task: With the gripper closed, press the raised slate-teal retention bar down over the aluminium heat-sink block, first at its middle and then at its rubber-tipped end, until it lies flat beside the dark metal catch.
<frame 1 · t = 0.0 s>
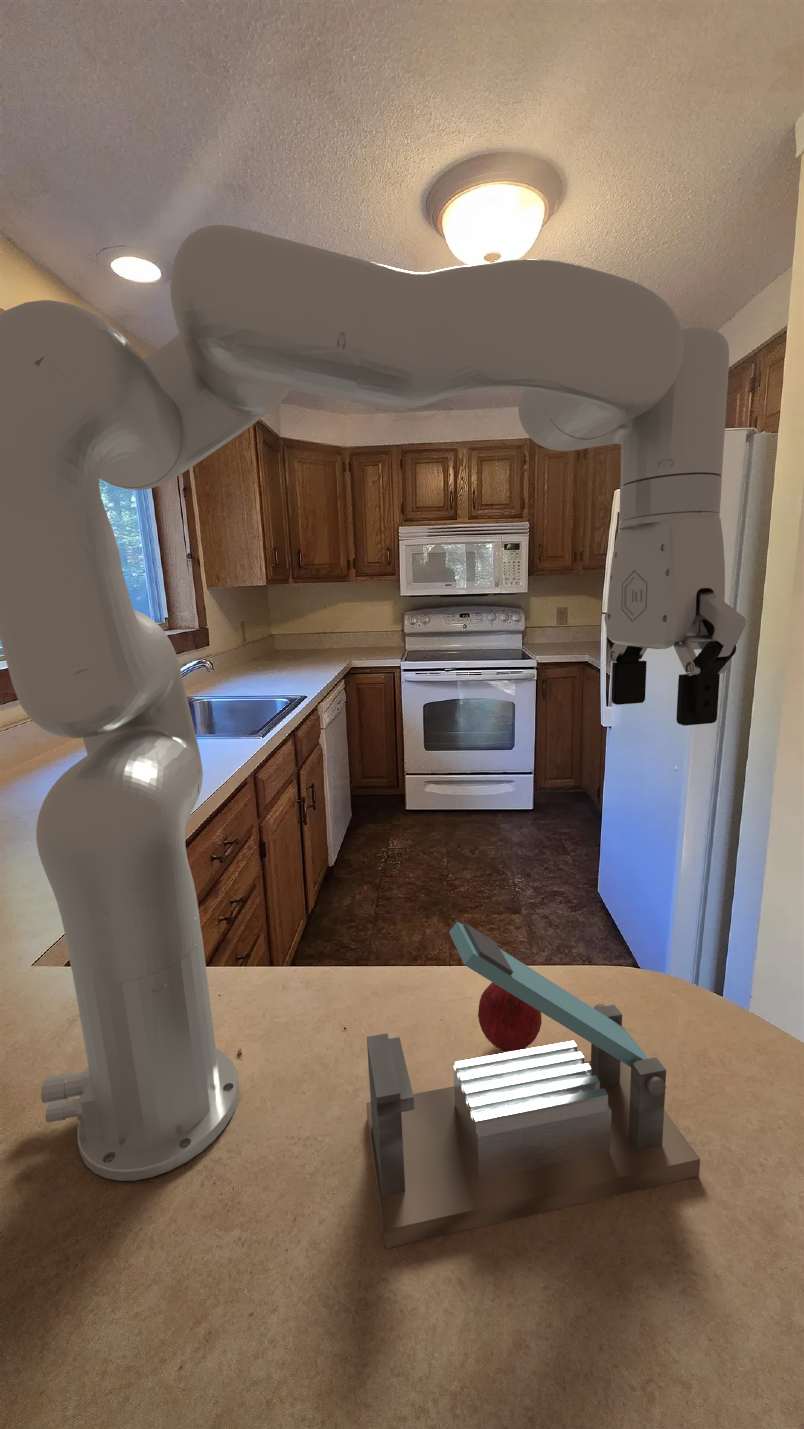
hand: (659, 712, 51), 31 cm above the countertop, tool pointing down, fingers open, 9 cm apart
heat sink: (528, 1143, 45), resting on clip base
retention bar: (553, 998, 43), point 12 cm above the countertop, hinge at 40.0°
clip base: (522, 1145, 45), on the countertop
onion: (509, 1050, 54), on the countertop
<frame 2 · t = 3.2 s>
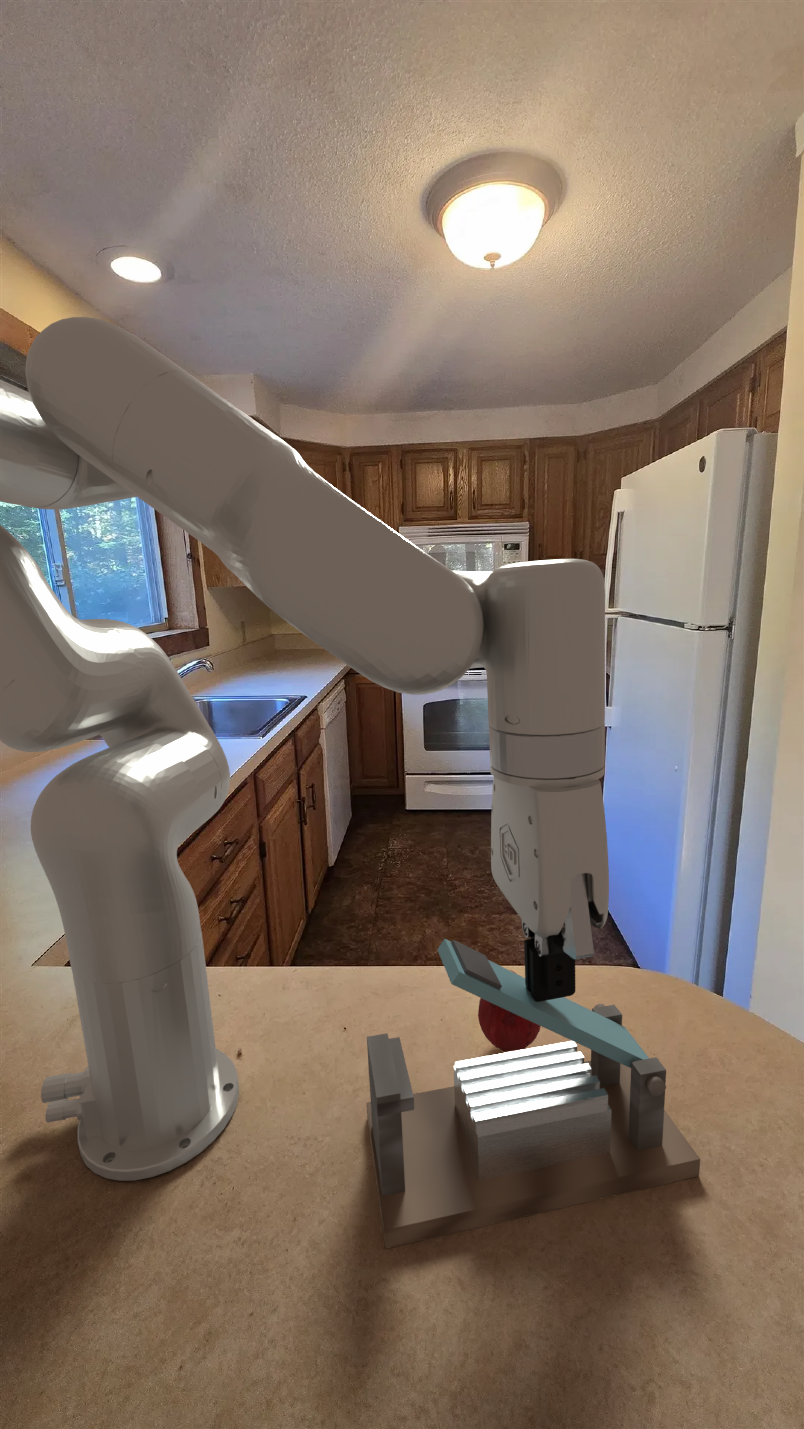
hand: (550, 991, 42), 13 cm above the countertop, tool pointing down, fingers closed
retention bar: (547, 1006, 43), point 12 cm above the countertop, hinge at 34.6°, touching gripper
everything else where it was.
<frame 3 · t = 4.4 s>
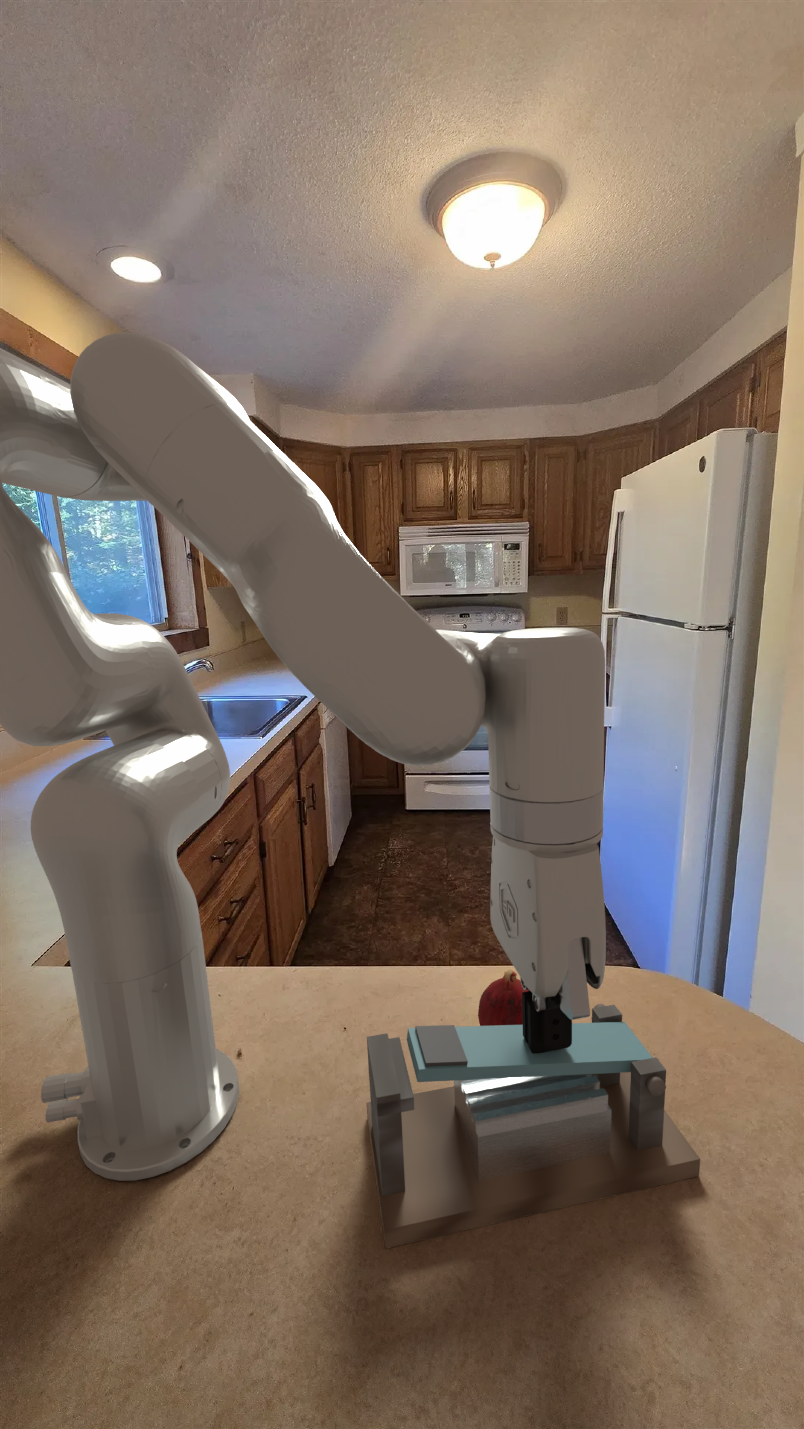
hand: (547, 1042, 43), 9 cm above the countertop, tool pointing down, fingers closed
retention bar: (530, 1047, 43), point 9 cm above the countertop, hinge at 8.9°, touching gripper
everything else where it was.
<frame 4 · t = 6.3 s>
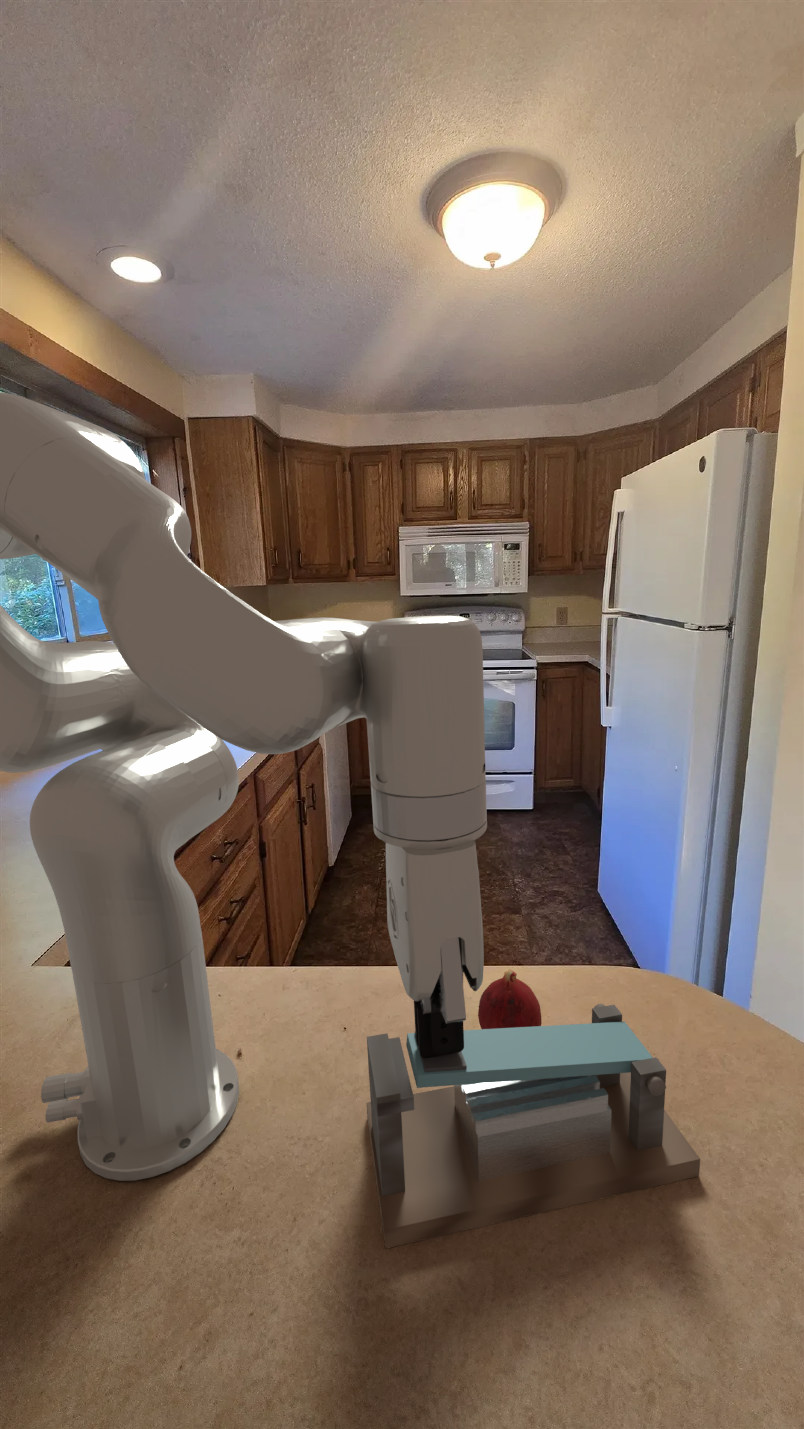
hand: (439, 1046, 42), 10 cm above the countertop, tool pointing down, fingers closed
retention bar: (529, 1050, 43), point 8 cm above the countertop, hinge at 7.3°, touching gripper
everything else where it was.
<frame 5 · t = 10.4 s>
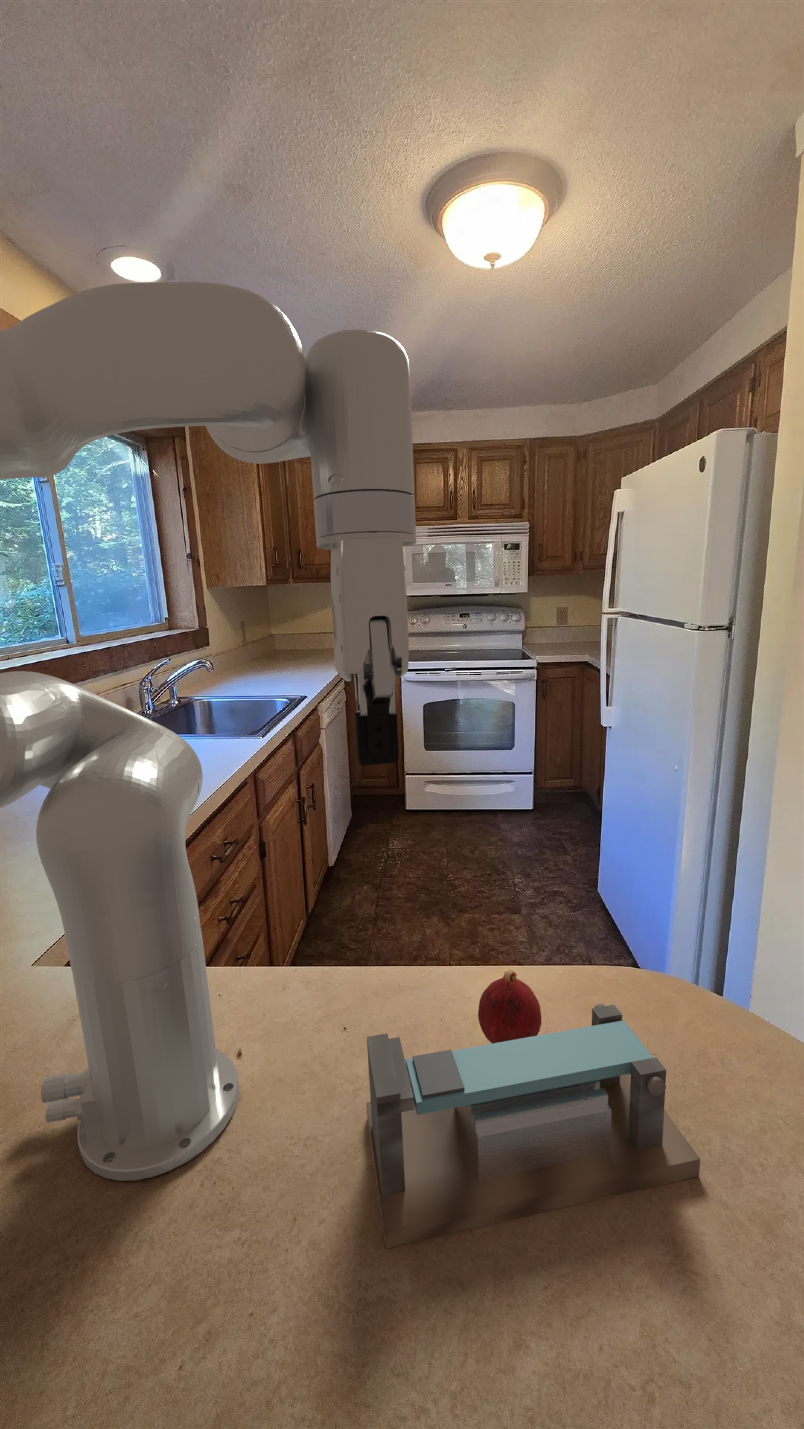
hand: (378, 760, 47), 29 cm above the countertop, tool pointing down, fingers closed
retention bar: (528, 1062, 44), point 7 cm above the countertop, hinge at 0.0°
everything else where it was.
at the end: retention bar at +0° (first picture: +40°) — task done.
